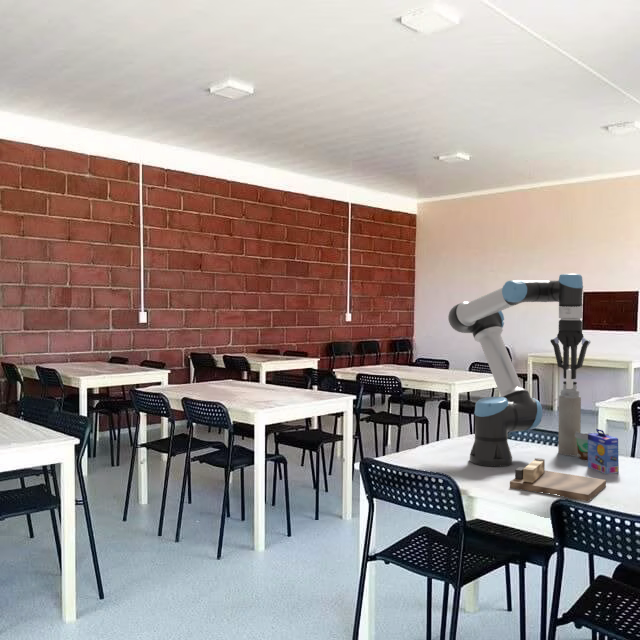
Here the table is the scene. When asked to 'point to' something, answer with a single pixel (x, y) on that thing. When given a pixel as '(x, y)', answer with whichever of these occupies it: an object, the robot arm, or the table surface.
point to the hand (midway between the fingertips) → (569, 388)
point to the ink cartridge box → (603, 453)
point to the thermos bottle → (569, 420)
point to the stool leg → (534, 470)
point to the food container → (582, 445)
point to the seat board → (560, 484)
